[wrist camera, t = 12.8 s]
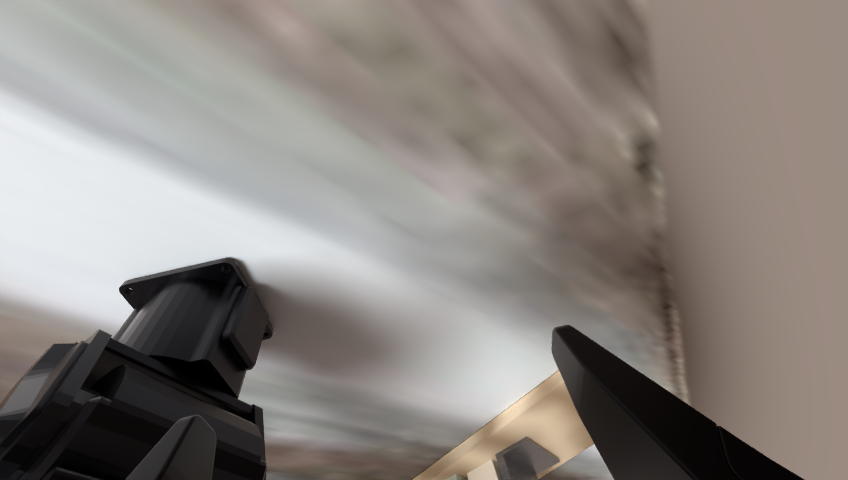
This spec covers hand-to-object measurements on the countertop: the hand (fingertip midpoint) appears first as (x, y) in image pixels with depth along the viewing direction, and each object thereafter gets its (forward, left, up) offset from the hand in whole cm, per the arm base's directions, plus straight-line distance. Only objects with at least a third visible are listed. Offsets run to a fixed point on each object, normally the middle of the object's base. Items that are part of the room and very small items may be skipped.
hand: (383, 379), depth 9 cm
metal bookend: (+8, -33, -12) cm, 36 cm away
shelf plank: (+8, -33, -13) cm, 36 cm away
